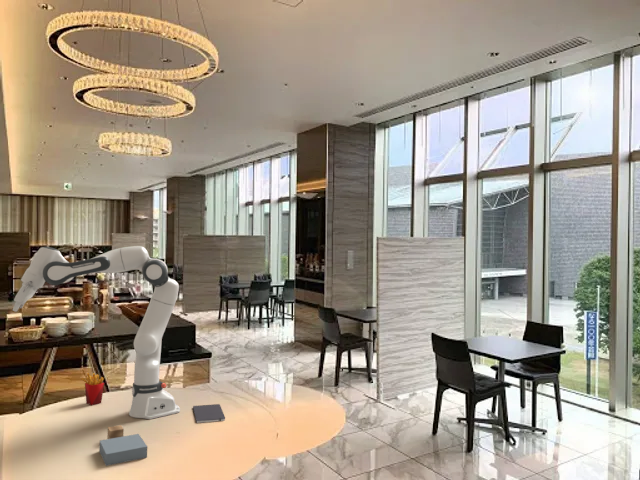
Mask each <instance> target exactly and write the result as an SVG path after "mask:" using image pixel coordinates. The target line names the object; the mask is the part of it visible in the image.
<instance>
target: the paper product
mask: <svg viewBox="0 0 640 480" xmlns="http://www.w3.org/2000/svg"><path fill="white" fill-rule="evenodd" d="M192 409H193V410H192V411H193V414H195V415H194V418H195V423H196V424H200V423H213V422H224V421H225V420H226V417H225V414H224V411H223V409H222V406H221V404H220V403H215V404H204V405H203V404H202V405H193V406H192Z"/></svg>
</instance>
